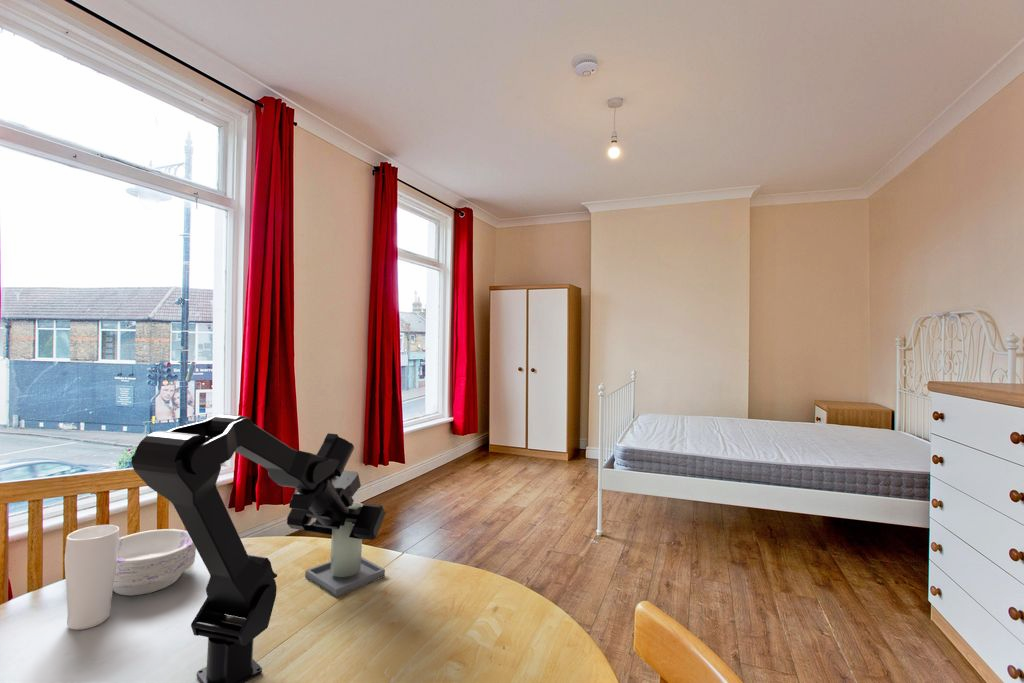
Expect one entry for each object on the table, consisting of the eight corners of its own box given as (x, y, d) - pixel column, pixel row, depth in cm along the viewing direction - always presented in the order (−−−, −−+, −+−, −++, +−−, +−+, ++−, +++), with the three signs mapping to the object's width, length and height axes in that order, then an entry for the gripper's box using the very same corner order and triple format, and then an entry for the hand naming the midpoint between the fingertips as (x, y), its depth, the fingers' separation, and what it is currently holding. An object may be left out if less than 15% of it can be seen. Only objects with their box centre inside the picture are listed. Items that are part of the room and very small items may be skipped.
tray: (384, 576, 98) (384, 569, 98) (335, 597, 89) (336, 589, 89) (353, 559, 105) (353, 552, 105) (305, 577, 96) (305, 570, 96)
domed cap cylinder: (363, 573, 96) (366, 509, 96) (331, 579, 93) (335, 512, 93) (357, 561, 101) (361, 500, 101) (328, 566, 98) (331, 503, 99)
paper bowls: (210, 577, 94) (212, 538, 95) (119, 614, 81) (122, 568, 81) (169, 558, 102) (171, 521, 102) (79, 589, 88) (81, 546, 88)
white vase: (82, 637, 74) (87, 542, 75) (49, 630, 76) (54, 537, 76) (125, 614, 81) (130, 526, 81) (94, 607, 82) (99, 522, 83)
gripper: (383, 465, 92) (405, 504, 102) (299, 456, 95) (328, 494, 106) (360, 520, 84) (386, 556, 94) (269, 508, 88) (304, 543, 98)
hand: (350, 535), depth 99 cm, fingers closed on domed cap cylinder, 6 cm apart
